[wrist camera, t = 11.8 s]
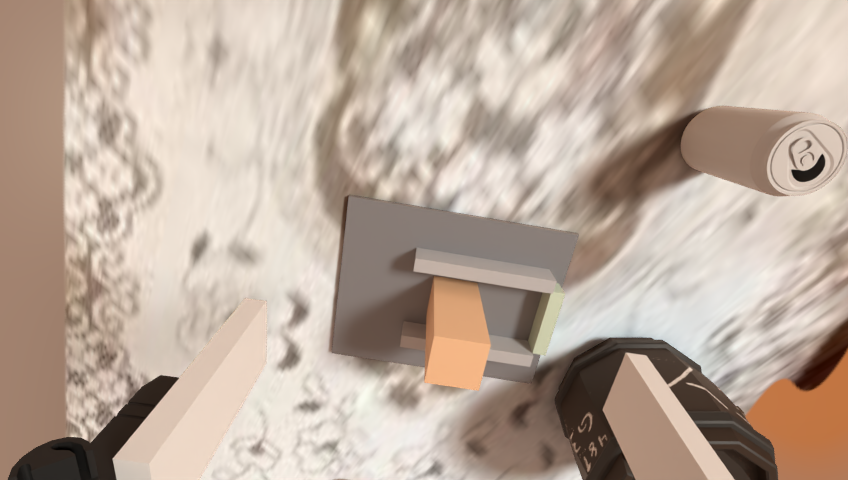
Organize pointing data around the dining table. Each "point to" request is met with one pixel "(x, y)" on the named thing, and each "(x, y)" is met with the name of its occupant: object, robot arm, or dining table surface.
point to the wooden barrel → (696, 393)
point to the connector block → (455, 334)
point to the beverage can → (765, 148)
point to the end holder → (451, 258)
